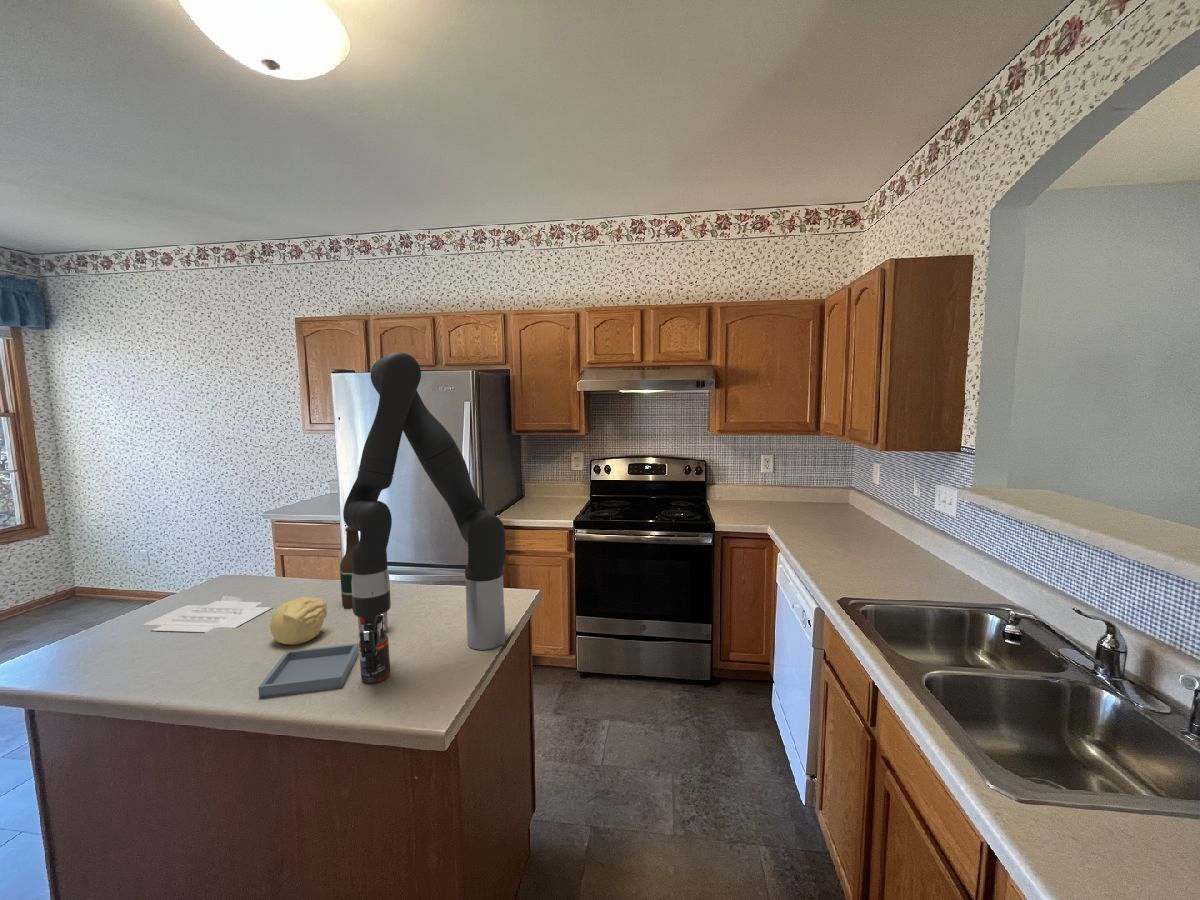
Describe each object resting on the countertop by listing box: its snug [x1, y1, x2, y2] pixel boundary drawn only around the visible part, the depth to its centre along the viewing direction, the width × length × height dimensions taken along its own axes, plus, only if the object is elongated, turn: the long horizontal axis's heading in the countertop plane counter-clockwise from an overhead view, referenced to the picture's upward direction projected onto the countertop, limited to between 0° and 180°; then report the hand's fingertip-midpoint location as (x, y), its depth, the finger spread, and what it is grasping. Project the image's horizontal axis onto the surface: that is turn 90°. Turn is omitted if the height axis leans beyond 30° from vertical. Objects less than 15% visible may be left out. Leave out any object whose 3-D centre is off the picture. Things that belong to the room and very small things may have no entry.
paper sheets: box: [142, 595, 274, 634], centre depth 145 cm, size 20×28×4 cm
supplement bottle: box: [358, 626, 391, 684], centre depth 111 cm, size 6×6×11 cm
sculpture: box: [269, 595, 328, 646], centre depth 130 cm, size 11×12×11 cm
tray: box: [257, 642, 360, 700], centre depth 113 cm, size 16×16×2 cm
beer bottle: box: [339, 526, 360, 610], centre depth 152 cm, size 8×8×24 cm
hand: (375, 663), depth 111 cm, fingers closed on supplement bottle, 6 cm apart
